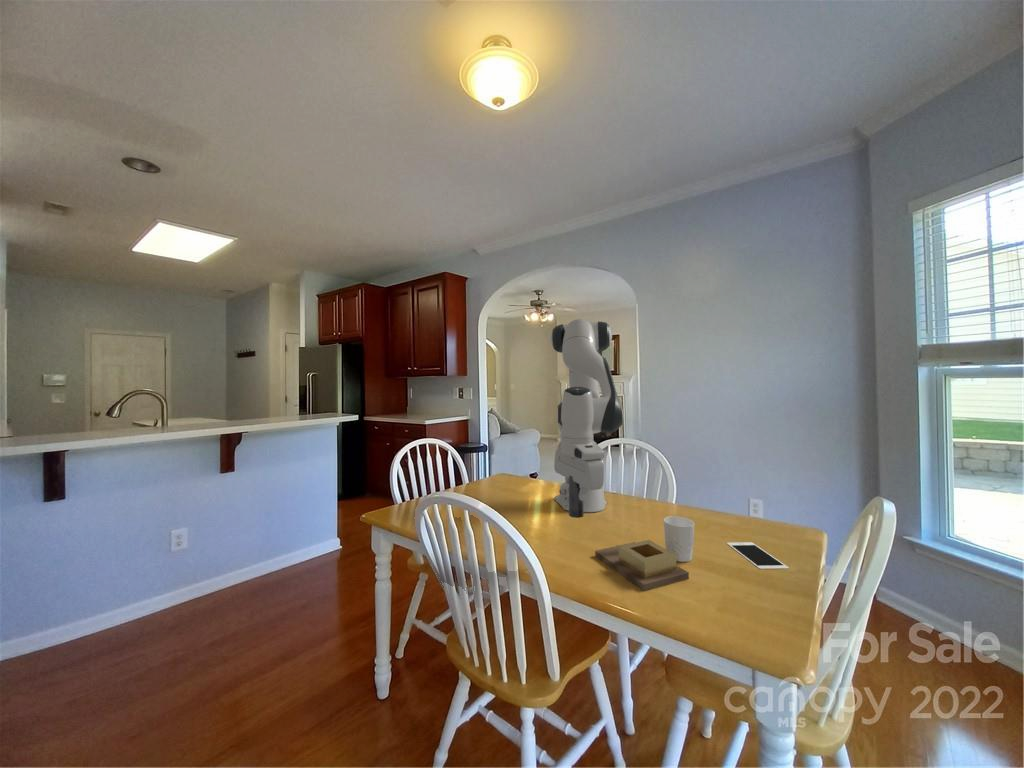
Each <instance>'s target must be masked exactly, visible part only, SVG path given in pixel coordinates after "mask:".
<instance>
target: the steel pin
mask: <svg viewBox="0 0 1024 768" xmlns="http://www.w3.org/2000/svg"><path fill="white" fill-rule="evenodd" d="M572 478H573V477H572V476H570V475H569V510H568V516H569V517H571V518H574V519H577V518H578V519H580V518H583V517H585V516H584V514H585V512H584V500H583V501H581V500H579V499H578V493H579V492H580V489H581V488H579V484H578V483H576V482H574V481H573V479H572Z"/></svg>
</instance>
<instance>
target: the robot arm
mask: <svg viewBox="0 0 1024 768" xmlns="http://www.w3.org/2000/svg"><path fill="white" fill-rule="evenodd" d="M612 332H613V331H612V329H611V327H610V324H609V323H607V322H604V321H600V320H599V321H597V322H596V321H588V320H586V319H582V318H577V319H573V320H571V321H570V322H569V323H568V324H558V325H555V327H554V328H553V329H552V331H551V335H550V342H551V346H552V348H553V350H554V351H555V352H556V353H561V355H562V361H563V363H564V365H565V366H566V368H568V383H569V385H568V386H569V387H568V388H566V389H564V390H563V395H562V400H561V402H560V403H559V404H558V405H557V426H558V429H559V431H560V442H559V443H558V444H557V448H556V450H555V452H554V463H553V464H554V465H553V467H554V468H553V469H554V471H555V473H557V474H559V475H561V476H562V477H564V480H565V481H564V482H563V483H562V484H561V485H560V486H559V487H560V488H559V494H558V495H555V496H554V497H553V500H554V499H555V500H556V501H557V502H558V503H559V504H560V505H561V506H562V508H563V510H565V511H569V475H570V476H572V477H573V478H572V479H573V481H574V482H576V483H578V484H579V488H581V489H580V492H579V493H578V499H579V500H581V501H583V500H584V513H597V512H600V511H604V510H605V507H606V505H608V504H607V500H605V493H604V492H605V491H604V483H605V466H604V465H605V464H604V461H603V459H604V458H605V450H604V449H603V448H602V447H601V446H599V445H598V443H597V442H596V441H595V440H594V434H598V433H611V434H612V433H614V432H616V431H618V429H620V428H621V427H622V425H623V423H624V417H625V416H624V410H623V407H622V404H621V400H620V399H619V396H618V393H617V389H616V386H615V385H616V384H615V382H614V378H613V374H612V371H611V368H610V365H609V363H608V361H607V358H605V357H604V356H602V355H601V354H602V352H604V351H605V350H607V349H608V348H609V347H610V345H611V343H612V340H613V333H612ZM598 351H599V352H598ZM599 388H600V389H599ZM600 392H601V395H600ZM555 500H554V501H555ZM556 501H555V502H556ZM558 503H557V504H558ZM559 504H558V505H559ZM560 505H559V506H560ZM561 506H560V507H561Z"/></svg>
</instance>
